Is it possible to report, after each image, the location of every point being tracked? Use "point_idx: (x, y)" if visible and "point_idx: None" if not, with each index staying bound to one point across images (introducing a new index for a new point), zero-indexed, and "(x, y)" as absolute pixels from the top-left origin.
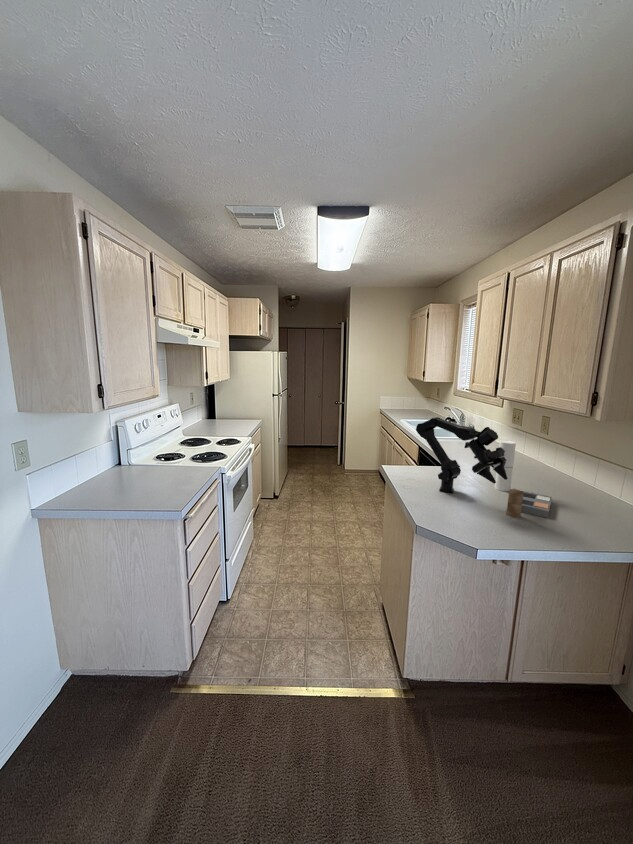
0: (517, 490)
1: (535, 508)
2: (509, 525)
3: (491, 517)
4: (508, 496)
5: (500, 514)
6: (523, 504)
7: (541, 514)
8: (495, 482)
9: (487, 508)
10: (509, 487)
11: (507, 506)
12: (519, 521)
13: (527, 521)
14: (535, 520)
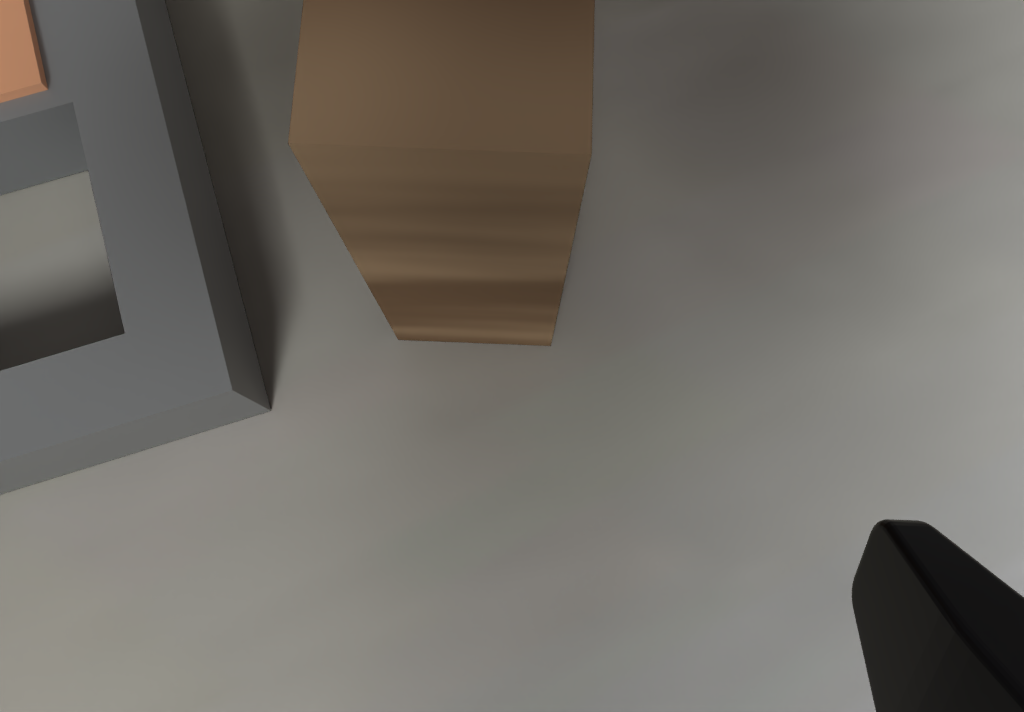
0: (383, 14)
1: (144, 37)
2: (883, 140)
3: (873, 424)
4: (572, 233)
5: (631, 399)
6: (127, 222)
7: (159, 6)
8: (918, 527)
9: (586, 664)
10: None
11: (558, 303)
12: (624, 122)
13: None
14: None
